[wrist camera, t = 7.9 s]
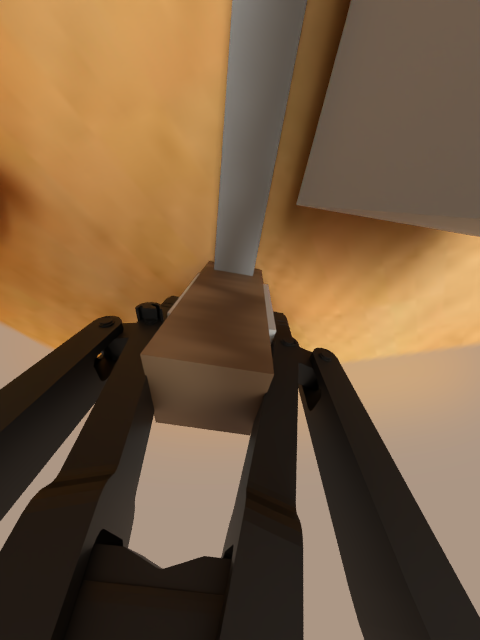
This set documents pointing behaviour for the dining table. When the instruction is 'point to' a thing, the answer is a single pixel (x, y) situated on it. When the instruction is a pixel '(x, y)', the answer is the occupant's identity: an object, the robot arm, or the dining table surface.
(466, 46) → the low cabinet
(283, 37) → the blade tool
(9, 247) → the dining table surface
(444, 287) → the dining table surface
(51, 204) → the dining table surface
